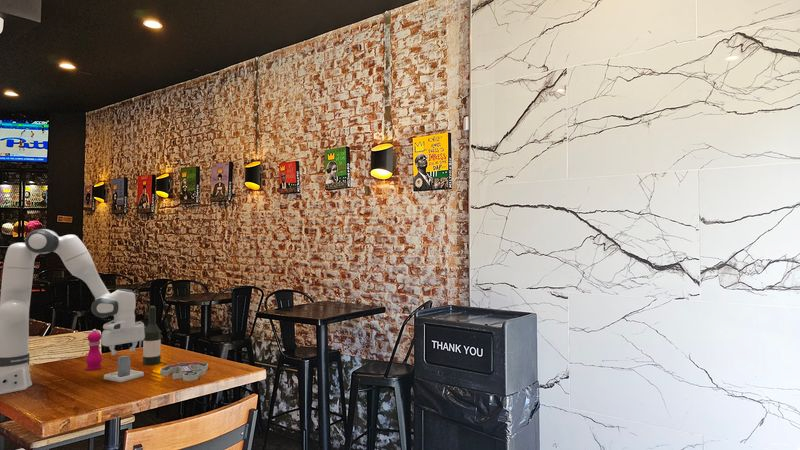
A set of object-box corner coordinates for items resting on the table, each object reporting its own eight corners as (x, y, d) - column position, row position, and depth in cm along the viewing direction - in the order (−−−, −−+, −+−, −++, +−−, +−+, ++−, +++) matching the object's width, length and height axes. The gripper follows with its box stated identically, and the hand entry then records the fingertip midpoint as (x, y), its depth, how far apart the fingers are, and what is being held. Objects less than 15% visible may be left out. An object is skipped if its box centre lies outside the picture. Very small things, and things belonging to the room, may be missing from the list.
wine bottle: (143, 362, 279) (143, 305, 280) (160, 361, 283) (161, 304, 283) (142, 366, 272) (143, 307, 272) (160, 364, 275) (161, 306, 276)
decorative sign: (204, 359, 275) (217, 372, 250) (204, 365, 275) (217, 378, 250) (157, 364, 264) (166, 378, 238) (157, 370, 264) (166, 385, 238)
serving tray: (120, 382, 241) (120, 377, 241) (103, 379, 246) (103, 374, 246) (143, 376, 252) (143, 372, 252) (127, 373, 257) (127, 369, 257)
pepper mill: (96, 370, 262) (97, 330, 263) (82, 370, 262) (83, 330, 263) (105, 367, 269) (105, 327, 270) (91, 366, 269) (91, 327, 270)
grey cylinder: (122, 377, 245) (122, 358, 246) (115, 376, 248) (115, 357, 248) (132, 375, 250) (132, 356, 250) (125, 374, 252) (125, 355, 253)
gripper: (139, 320, 260) (138, 348, 260) (99, 325, 242) (98, 355, 241) (148, 321, 257) (147, 349, 257) (108, 326, 239) (107, 357, 239)
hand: (123, 352), depth 249 cm, fingers open, 8 cm apart
